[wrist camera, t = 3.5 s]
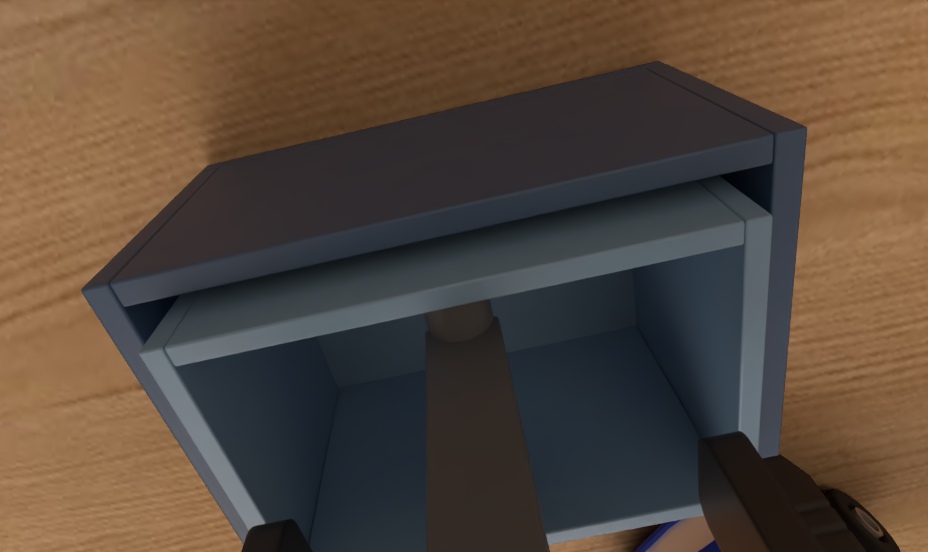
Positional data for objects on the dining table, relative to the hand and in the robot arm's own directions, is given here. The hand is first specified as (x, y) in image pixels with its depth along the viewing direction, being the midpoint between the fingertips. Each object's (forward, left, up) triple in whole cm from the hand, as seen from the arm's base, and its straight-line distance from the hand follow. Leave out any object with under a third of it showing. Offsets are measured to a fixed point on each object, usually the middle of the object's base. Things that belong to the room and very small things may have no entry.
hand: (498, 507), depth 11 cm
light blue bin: (0, 0, -10) cm, 10 cm away
